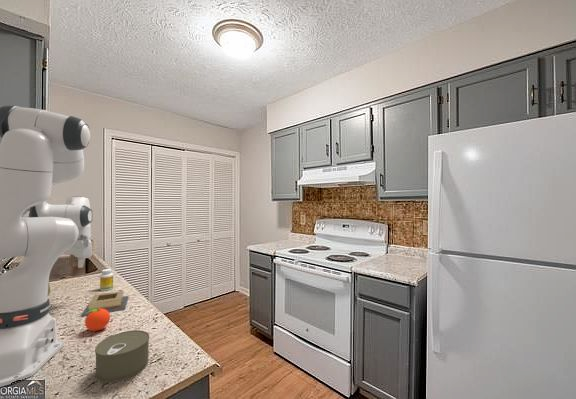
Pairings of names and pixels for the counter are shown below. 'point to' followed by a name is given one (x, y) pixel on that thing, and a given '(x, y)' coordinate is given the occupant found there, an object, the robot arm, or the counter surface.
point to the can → (121, 356)
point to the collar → (107, 302)
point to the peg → (74, 269)
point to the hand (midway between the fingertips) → (77, 266)
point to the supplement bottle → (106, 280)
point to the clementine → (97, 319)
